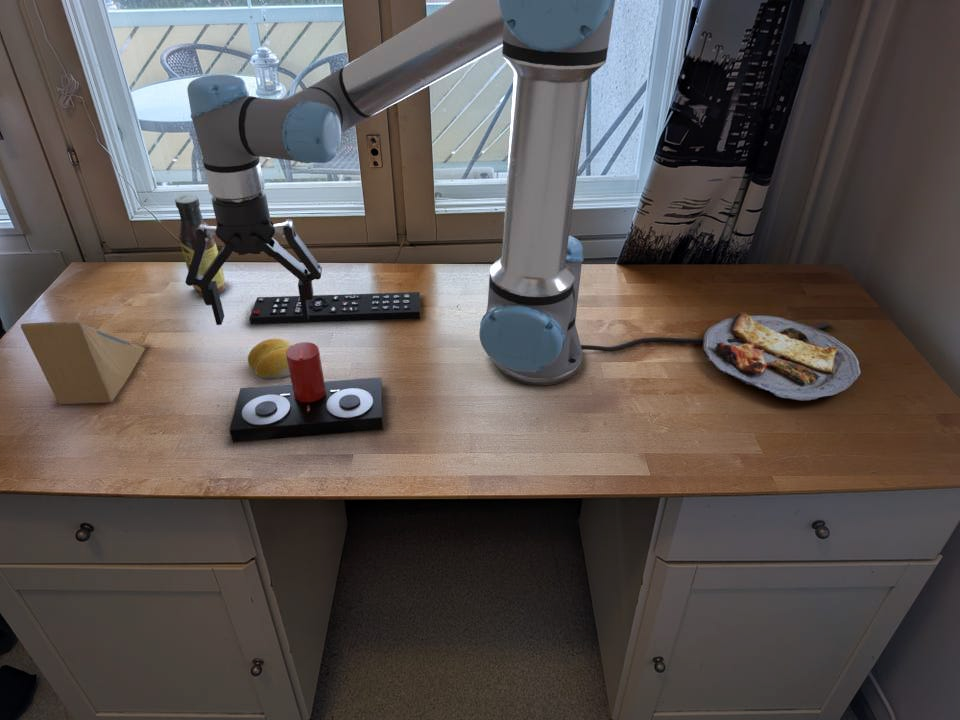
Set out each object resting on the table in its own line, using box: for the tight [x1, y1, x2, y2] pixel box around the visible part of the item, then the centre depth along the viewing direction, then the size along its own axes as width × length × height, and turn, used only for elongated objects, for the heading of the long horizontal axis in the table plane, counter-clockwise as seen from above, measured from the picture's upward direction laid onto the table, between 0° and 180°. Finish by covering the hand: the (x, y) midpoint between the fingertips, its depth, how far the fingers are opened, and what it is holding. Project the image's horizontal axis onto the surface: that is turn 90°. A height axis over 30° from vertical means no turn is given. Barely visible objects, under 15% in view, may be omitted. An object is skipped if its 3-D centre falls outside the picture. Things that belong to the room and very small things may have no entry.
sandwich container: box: [20, 321, 146, 405], centre depth 104 cm, size 9×15×15 cm, turn 4°
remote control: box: [249, 291, 421, 326], centre depth 125 cm, size 8×32×2 cm, turn 94°
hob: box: [228, 377, 384, 444], centre depth 101 cm, size 22×12×3 cm, turn 98°
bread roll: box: [247, 338, 292, 380], centre depth 110 cm, size 8×9×4 cm
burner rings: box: [242, 388, 373, 426], centre depth 98 cm, size 19×7×1 cm, turn 98°
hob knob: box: [286, 341, 326, 403], centre depth 99 cm, size 5×5×8 cm
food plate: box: [701, 311, 862, 401], centre depth 112 cm, size 25×23×4 cm
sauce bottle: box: [174, 194, 226, 297], centre depth 126 cm, size 7×6×20 cm
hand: (264, 318), depth 106 cm, fingers open, 13 cm apart
